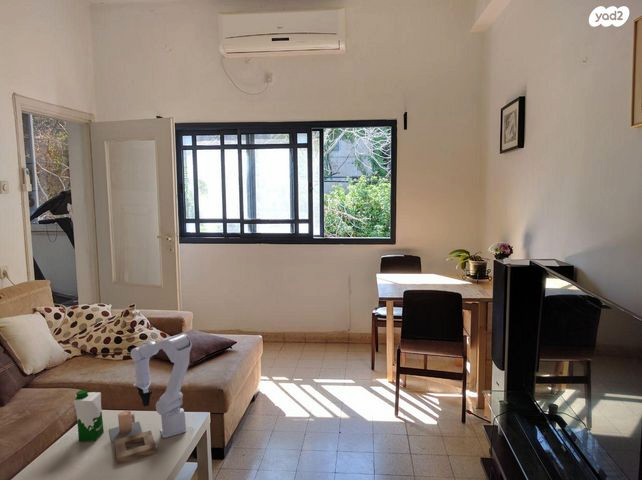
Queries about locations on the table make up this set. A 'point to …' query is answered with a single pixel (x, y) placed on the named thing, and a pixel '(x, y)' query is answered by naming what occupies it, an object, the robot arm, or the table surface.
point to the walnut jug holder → (136, 452)
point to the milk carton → (89, 415)
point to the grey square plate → (116, 435)
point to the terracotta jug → (125, 422)
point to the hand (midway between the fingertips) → (145, 402)
